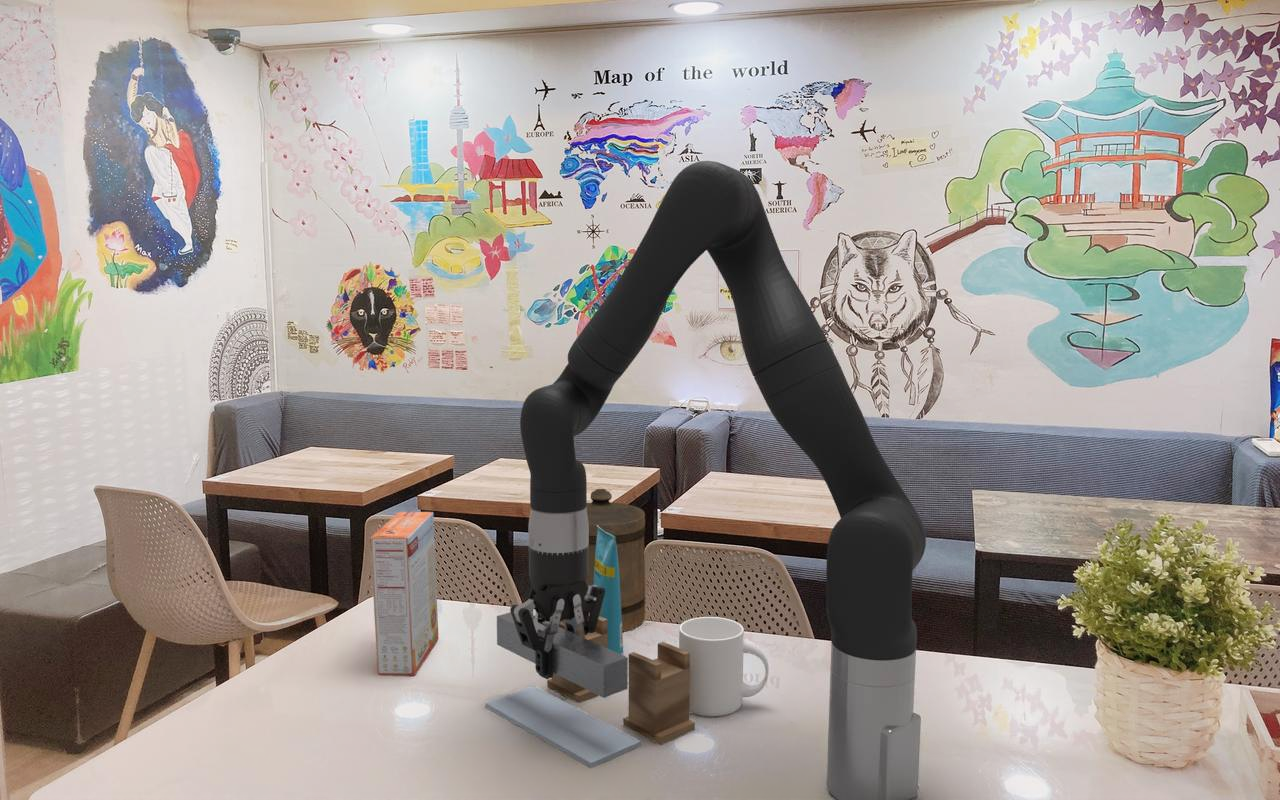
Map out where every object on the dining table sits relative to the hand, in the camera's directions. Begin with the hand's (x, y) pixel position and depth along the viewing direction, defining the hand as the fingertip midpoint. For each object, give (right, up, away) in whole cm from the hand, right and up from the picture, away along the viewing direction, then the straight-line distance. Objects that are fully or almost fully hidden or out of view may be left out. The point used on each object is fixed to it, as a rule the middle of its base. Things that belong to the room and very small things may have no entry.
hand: (559, 671), depth 130 cm
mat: (0, -7, +1) cm, 7 cm away
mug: (+22, -7, +7) cm, 24 cm away
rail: (0, +1, 0) cm, 1 cm away
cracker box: (-25, -4, +23) cm, 34 cm away
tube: (+5, -4, +25) cm, 25 cm away
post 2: (+13, -7, 0) cm, 15 cm away
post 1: (+2, -6, +12) cm, 13 cm away
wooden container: (+4, -2, +39) cm, 40 cm away
